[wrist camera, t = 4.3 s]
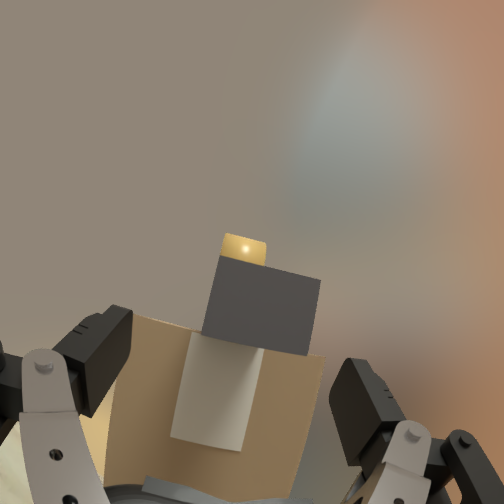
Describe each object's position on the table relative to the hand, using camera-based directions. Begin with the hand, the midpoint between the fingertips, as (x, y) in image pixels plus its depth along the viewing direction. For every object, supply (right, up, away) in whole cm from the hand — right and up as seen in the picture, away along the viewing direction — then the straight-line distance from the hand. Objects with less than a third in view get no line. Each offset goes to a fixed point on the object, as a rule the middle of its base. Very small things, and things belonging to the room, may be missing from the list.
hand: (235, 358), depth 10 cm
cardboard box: (-8, -34, +6) cm, 35 cm away
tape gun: (-1, -2, +11) cm, 11 cm away
